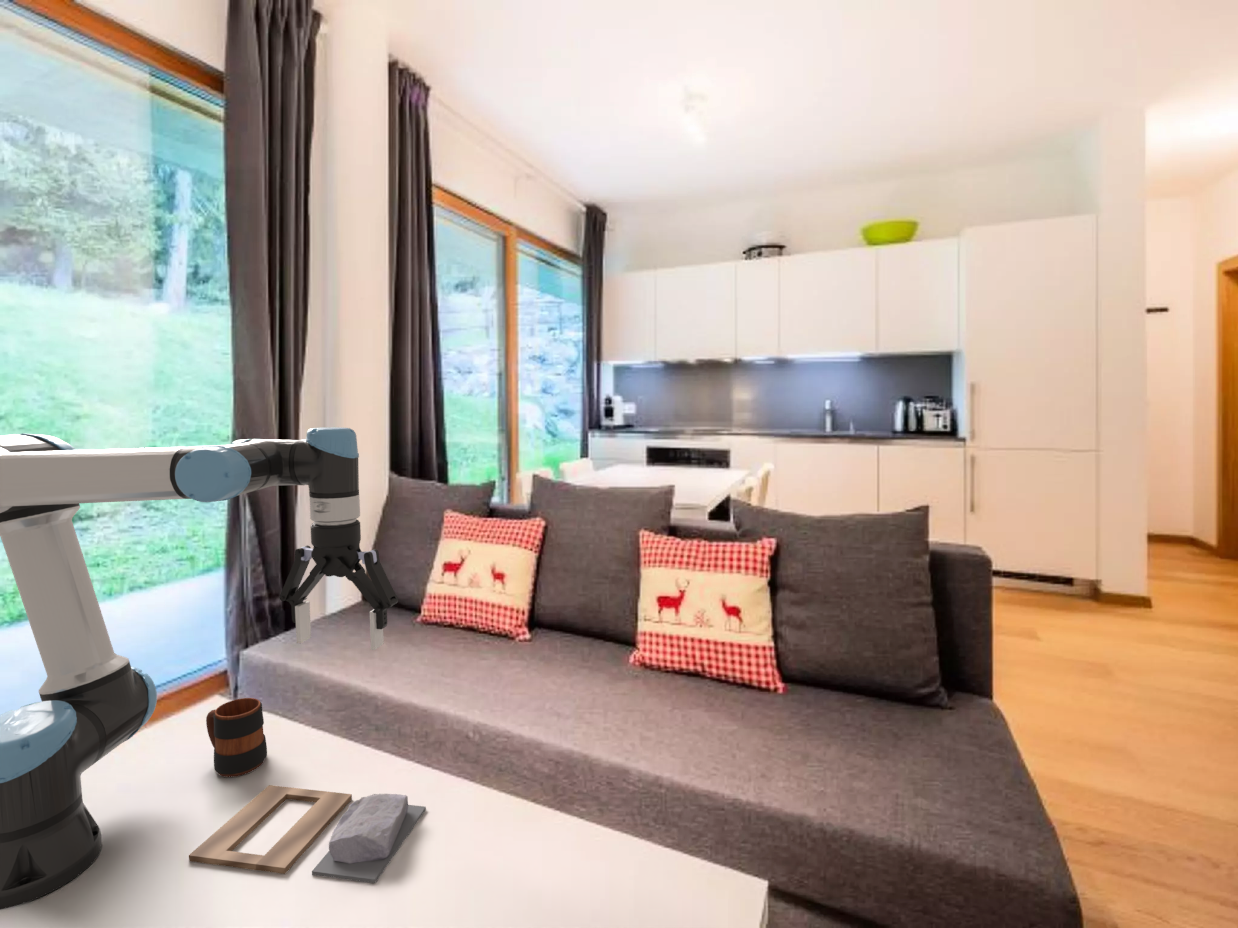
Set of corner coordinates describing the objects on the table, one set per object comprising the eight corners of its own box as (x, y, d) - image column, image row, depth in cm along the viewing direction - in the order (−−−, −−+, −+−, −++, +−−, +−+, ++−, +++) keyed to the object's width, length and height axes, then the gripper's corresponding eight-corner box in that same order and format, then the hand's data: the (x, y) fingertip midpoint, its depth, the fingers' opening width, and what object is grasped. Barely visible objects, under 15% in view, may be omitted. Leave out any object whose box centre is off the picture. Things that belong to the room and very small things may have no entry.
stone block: (326, 875, 90) (393, 859, 91) (318, 846, 90) (386, 830, 91) (355, 823, 102) (414, 809, 103) (348, 796, 102) (407, 783, 102)
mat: (312, 874, 89) (311, 870, 89) (371, 803, 105) (371, 800, 105) (375, 883, 88) (374, 879, 88) (425, 809, 104) (425, 806, 103)
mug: (230, 746, 122) (226, 690, 121) (278, 756, 119) (274, 699, 117) (189, 771, 114) (185, 712, 113) (239, 782, 110) (235, 722, 109)
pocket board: (189, 861, 92) (188, 855, 92) (269, 790, 108) (269, 784, 108) (285, 873, 89) (284, 867, 89) (351, 799, 106) (351, 793, 106)
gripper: (251, 521, 99) (258, 646, 101) (393, 528, 95) (397, 658, 97) (283, 513, 106) (289, 630, 108) (416, 519, 102) (419, 640, 105)
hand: (340, 643), depth 103 cm, fingers open, 13 cm apart
